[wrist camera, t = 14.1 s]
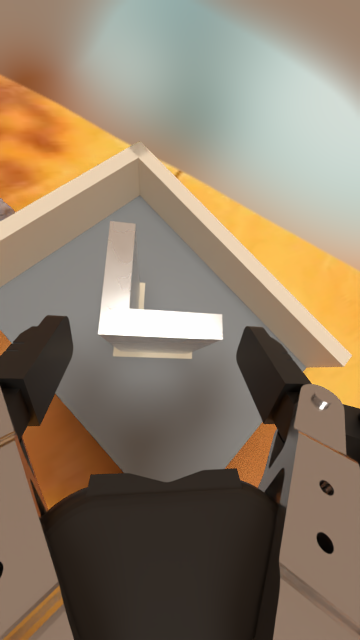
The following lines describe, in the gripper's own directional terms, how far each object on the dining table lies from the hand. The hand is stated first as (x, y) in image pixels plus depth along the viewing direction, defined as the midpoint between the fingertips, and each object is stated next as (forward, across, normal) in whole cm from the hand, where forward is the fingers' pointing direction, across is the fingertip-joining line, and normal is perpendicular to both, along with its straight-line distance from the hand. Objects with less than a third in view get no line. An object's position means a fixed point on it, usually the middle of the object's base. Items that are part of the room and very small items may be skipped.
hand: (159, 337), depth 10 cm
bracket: (+8, 0, +4) cm, 9 cm away
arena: (+8, 0, +5) cm, 10 cm away
